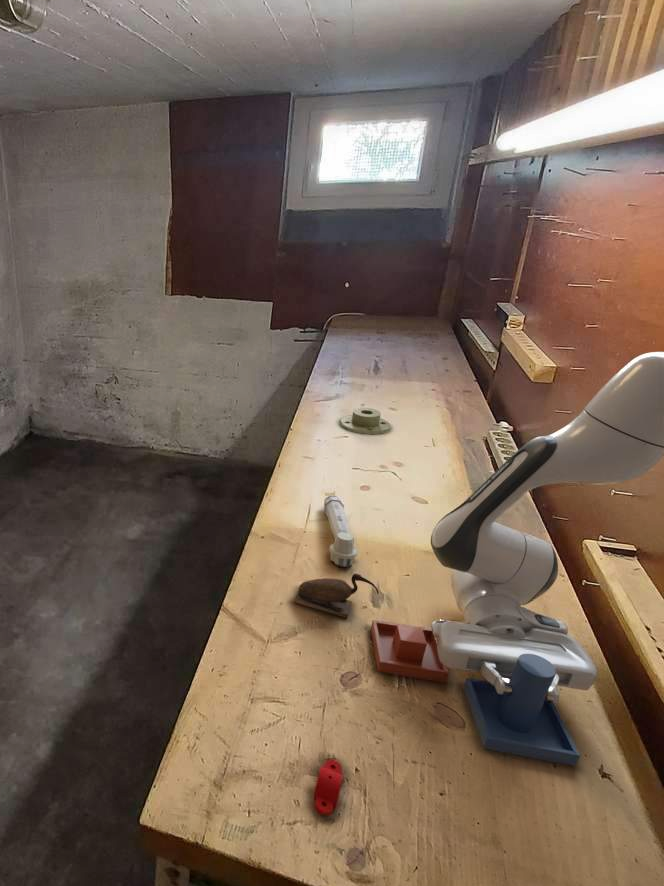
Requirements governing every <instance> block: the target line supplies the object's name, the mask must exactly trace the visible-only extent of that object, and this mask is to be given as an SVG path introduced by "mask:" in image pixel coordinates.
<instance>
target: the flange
mask: <svg viewBox="0 0 664 886" xmlns="http://www.w3.org/2000/svg"><path fill="white" fill-rule="evenodd" d="M381 415H382V413H381V412H380V411H379V410H378V409H375V408H371V407H357V408H354V409H353V410H352V414H351V415H346V416H343V417H342V418H341V419H340V426H341V427H342V428H343V429H345V430H347V431H349V432H353V433H356V434H363V435H381V434H385V433H387V432H388V431H389V430H390V428H391V427H390V425H391V424H390V422H388V421H387V420H386V419H383V418H381Z"/></svg>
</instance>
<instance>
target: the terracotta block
mask: <svg viewBox="0 0 664 886" xmlns="http://www.w3.org/2000/svg"><path fill="white" fill-rule="evenodd" d="M396 624H397V625H396V630H395V634H394V638H393V645H394V650H395V655H396V658H399V659H405V660H411V661H417V662H422V661H423V657H424V653H425V650H426V646H427V643H426V639H425V636H424V632H423V629H422V628H423V627H422V628H421V626H415V625H409V626H407V625H408V624H402V625H401V623H396ZM414 626H415V627H414Z"/></svg>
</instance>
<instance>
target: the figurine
mask: <svg viewBox="0 0 664 886" xmlns="http://www.w3.org/2000/svg"><path fill="white" fill-rule="evenodd" d="M356 581H358V582H363V583H366V584H369V585H371V586H372V587H373V588H374V589H375V591H376V594H378V595H379V590H378V588H377V586H376V585H375V584H374V583H373V582H372V581H370V580H369V579H367V578H366V577H363V576H362V575H361V574H360V573H354V574H352V576H351V583H352V585H353V588H352V586H351V585H349V584H348V582H346V581H345V580H344V579H340V578H329V577H328V578H318V579H317V578H316V579H310V580H306V581H303V582H301V584H300V585H299V587H298V590H297V593H296V595H295V597H294V599H293V603H296V604H299V605H302V606H304V607H305V606H306V607H309V608H312V609H315V610H318V611H322V612H324V613H325V612H326V613H329V614H332V615H336V616H339V617H341V618H345V619H348V616H349V613H350V611H351V606H352V600H349V599H348V598H350V597H351V596H352V595H354V594H355V593H356V592H357V591H358V585H357V582H356Z"/></svg>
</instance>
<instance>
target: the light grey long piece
mask: <svg viewBox="0 0 664 886" xmlns="http://www.w3.org/2000/svg"><path fill="white" fill-rule="evenodd" d="M344 510H345V505H344V503H343V502H342V500H341V499H340V498H339V497H338V496H337V495H329V496H327V497H326V498H324V502H323V511H324V513H325V514H326V516H327V519H328V521H329V525H330V528H331V531H332V534H333V537H334V542H333V543H331V544H330V545H329V552H330V557H329V559H330V561H331V562H334V565H337V566H339V567H352V564H354V563H355V558H356V557H357V556H358V551H357V550H358V549H357V548H356V547H355V539H354V536H353V534H351V533H350V530H349V527H348V522H347V518H346V513H345V511H344Z"/></svg>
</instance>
